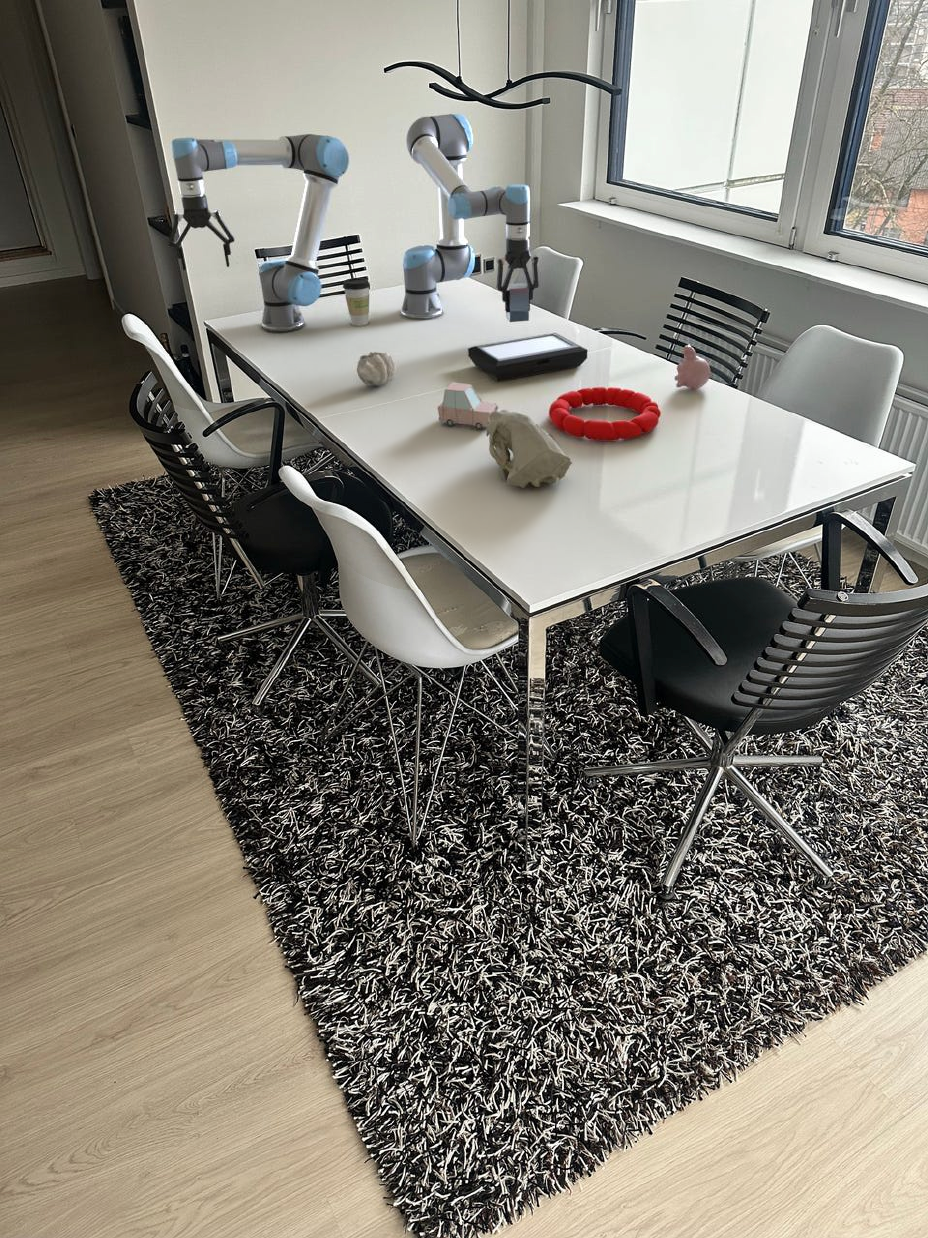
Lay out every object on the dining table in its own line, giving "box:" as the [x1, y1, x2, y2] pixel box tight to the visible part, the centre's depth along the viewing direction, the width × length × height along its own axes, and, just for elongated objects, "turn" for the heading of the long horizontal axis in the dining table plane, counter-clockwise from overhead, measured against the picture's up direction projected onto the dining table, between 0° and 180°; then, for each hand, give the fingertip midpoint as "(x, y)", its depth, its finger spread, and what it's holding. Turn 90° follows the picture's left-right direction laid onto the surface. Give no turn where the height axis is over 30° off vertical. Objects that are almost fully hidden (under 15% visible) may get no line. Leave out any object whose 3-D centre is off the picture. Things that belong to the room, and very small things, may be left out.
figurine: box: [674, 344, 711, 390], centre depth 259 cm, size 9×11×12 cm
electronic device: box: [467, 332, 588, 382], centre depth 281 cm, size 32×6×20 cm
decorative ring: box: [548, 386, 661, 442], centre depth 242 cm, size 7×30×30 cm
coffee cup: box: [342, 277, 371, 327], centre depth 323 cm, size 10×10×15 cm
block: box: [505, 282, 530, 323], centre depth 299 cm, size 7×6×11 cm
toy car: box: [437, 382, 499, 431], centre depth 243 cm, size 9×15×10 cm, turn 70°
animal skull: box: [485, 409, 573, 489], centre depth 216 cm, size 17×25×20 cm
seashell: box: [356, 351, 396, 386], centre depth 270 cm, size 10×15×10 cm
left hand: (206, 267), depth 285 cm, fingers open, 13 cm apart
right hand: (517, 310), depth 301 cm, fingers closed on block, 6 cm apart
